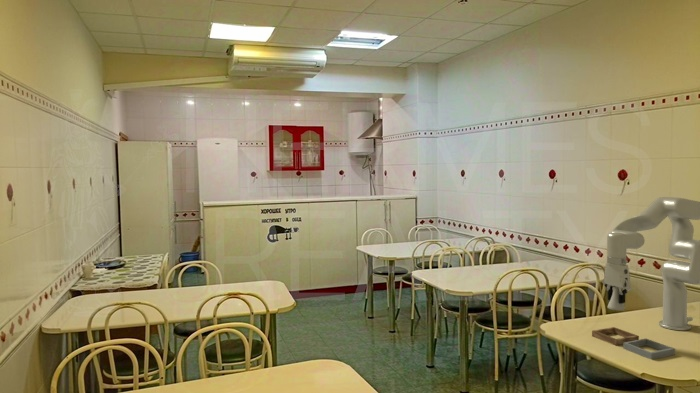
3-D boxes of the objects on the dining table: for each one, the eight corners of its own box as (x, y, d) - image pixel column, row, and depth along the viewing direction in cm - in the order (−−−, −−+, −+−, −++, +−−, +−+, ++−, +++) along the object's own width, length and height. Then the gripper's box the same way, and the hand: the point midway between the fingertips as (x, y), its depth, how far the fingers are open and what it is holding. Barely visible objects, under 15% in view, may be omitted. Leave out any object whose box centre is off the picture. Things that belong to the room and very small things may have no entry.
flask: (627, 311, 215) (628, 288, 214) (609, 310, 216) (610, 288, 216) (622, 306, 222) (622, 284, 221) (604, 306, 223) (605, 284, 223)
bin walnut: (613, 332, 228) (613, 327, 228) (638, 341, 216) (638, 335, 216) (592, 336, 224) (592, 330, 224) (616, 345, 212) (616, 339, 212)
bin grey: (645, 344, 213) (646, 338, 213) (674, 354, 201) (674, 348, 201) (623, 348, 209) (623, 342, 208) (651, 359, 196) (651, 353, 196)
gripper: (640, 263, 211) (639, 305, 212) (607, 256, 227) (606, 295, 228) (626, 265, 208) (626, 307, 210) (594, 258, 225) (594, 297, 226)
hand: (616, 300), depth 219 cm, fingers closed on flask, 5 cm apart
